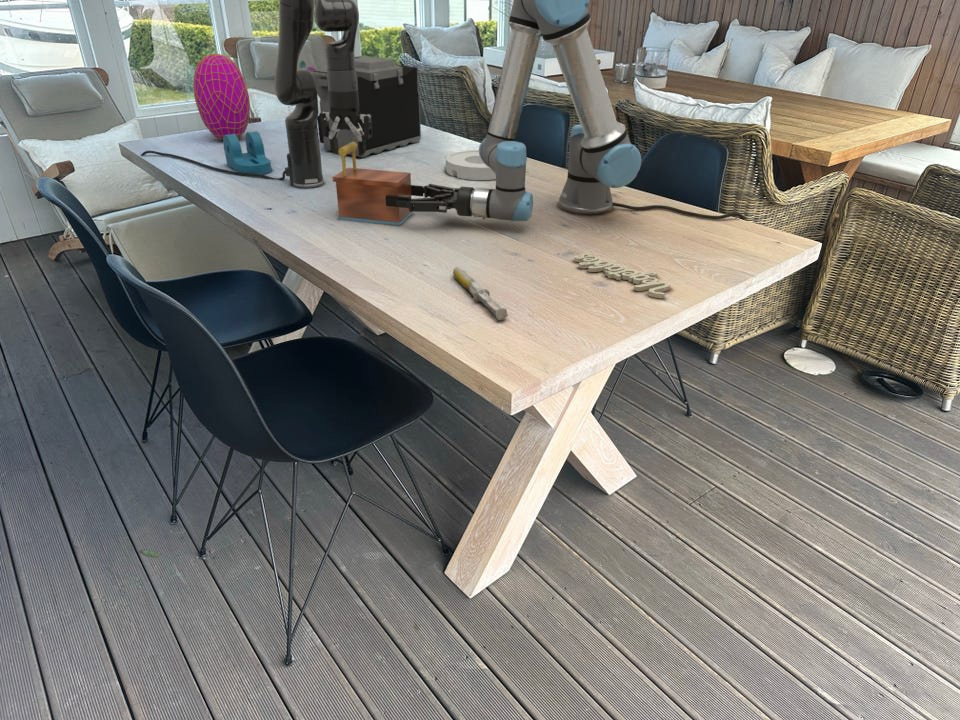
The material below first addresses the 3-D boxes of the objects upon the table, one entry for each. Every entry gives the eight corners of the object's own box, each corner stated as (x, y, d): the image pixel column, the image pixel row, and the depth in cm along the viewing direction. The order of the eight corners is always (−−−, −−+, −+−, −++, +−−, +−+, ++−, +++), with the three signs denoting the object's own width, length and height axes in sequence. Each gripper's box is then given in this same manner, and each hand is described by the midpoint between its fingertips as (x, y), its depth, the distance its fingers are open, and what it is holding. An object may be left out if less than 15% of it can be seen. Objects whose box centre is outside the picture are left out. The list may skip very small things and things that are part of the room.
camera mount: (227, 164, 233) (221, 132, 227) (257, 160, 238) (252, 129, 233) (244, 176, 220) (239, 143, 215) (276, 172, 225) (271, 139, 220)
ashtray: (448, 160, 240) (448, 149, 238) (514, 162, 240) (514, 150, 238) (443, 179, 220) (443, 166, 218) (515, 180, 220) (515, 168, 218)
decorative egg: (219, 147, 253) (203, 59, 238) (193, 139, 264) (176, 54, 249) (265, 139, 265) (252, 54, 250) (238, 131, 276) (225, 50, 261)
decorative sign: (686, 282, 150) (660, 295, 144) (686, 286, 150) (659, 300, 144) (592, 249, 166) (565, 259, 160) (592, 253, 167) (565, 263, 161)
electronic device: (383, 133, 276) (378, 52, 261) (425, 141, 265) (422, 56, 250) (314, 150, 251) (304, 61, 235) (358, 160, 240) (350, 67, 224)
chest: (339, 219, 187) (335, 182, 181) (354, 208, 195) (350, 172, 190) (399, 225, 183) (397, 187, 178) (412, 214, 191) (410, 177, 186)
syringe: (449, 274, 155) (449, 263, 153) (465, 272, 156) (464, 260, 154) (490, 323, 135) (491, 310, 133) (508, 319, 136) (508, 307, 134)
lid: (333, 181, 182) (329, 148, 177) (348, 172, 190) (345, 140, 185) (397, 187, 178) (396, 153, 173) (410, 177, 186) (409, 144, 181)
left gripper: (375, 87, 175) (379, 153, 184) (323, 84, 178) (330, 149, 187) (363, 91, 169) (368, 159, 177) (310, 88, 172) (317, 155, 180)
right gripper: (461, 230, 172) (378, 221, 177) (484, 203, 191) (408, 196, 196) (461, 200, 168) (376, 192, 173) (484, 176, 187) (407, 170, 192)
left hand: (348, 154), depth 182 cm, fingers open, 7 cm apart
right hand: (393, 194), depth 184 cm, fingers closed on chest, 10 cm apart
